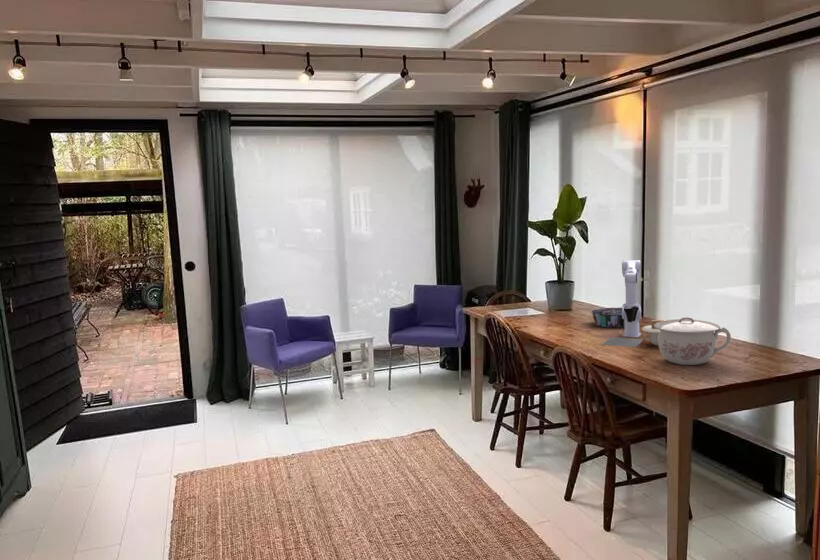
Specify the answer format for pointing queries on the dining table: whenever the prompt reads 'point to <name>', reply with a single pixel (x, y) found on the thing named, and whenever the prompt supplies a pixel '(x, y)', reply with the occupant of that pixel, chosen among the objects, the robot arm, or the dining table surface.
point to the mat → (623, 342)
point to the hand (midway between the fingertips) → (631, 321)
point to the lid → (652, 327)
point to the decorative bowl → (608, 317)
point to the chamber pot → (689, 340)
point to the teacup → (652, 338)
